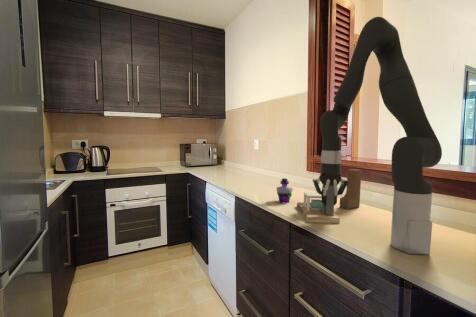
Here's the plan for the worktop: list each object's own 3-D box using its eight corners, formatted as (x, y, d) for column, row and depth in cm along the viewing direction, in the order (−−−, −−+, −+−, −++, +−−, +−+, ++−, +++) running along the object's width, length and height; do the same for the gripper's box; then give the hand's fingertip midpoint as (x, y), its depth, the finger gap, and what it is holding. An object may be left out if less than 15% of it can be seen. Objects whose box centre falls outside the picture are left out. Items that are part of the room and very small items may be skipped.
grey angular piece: (333, 215, 97) (334, 185, 97) (313, 215, 98) (314, 185, 97) (325, 208, 108) (326, 181, 107) (307, 207, 108) (308, 180, 107)
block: (322, 211, 104) (323, 201, 103) (313, 210, 104) (313, 201, 103) (320, 208, 108) (320, 199, 107) (310, 208, 108) (311, 199, 107)
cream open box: (328, 211, 103) (329, 196, 103) (307, 211, 104) (307, 195, 103) (323, 206, 110) (324, 192, 110) (303, 206, 111) (304, 192, 110)
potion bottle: (289, 204, 121) (289, 180, 120) (272, 202, 126) (273, 178, 125) (294, 200, 129) (295, 178, 128) (279, 198, 133) (279, 176, 132)
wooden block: (347, 209, 114) (349, 170, 112) (339, 207, 118) (340, 169, 116) (359, 207, 118) (361, 169, 116) (351, 204, 122) (353, 168, 120)
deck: (339, 223, 95) (339, 218, 95) (308, 222, 95) (308, 217, 95) (322, 207, 117) (322, 202, 117) (297, 206, 118) (297, 202, 118)
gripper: (315, 162, 94) (313, 206, 95) (352, 163, 93) (350, 207, 95) (310, 160, 101) (309, 201, 103) (345, 161, 101) (343, 202, 102)
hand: (328, 204), depth 99 cm, fingers closed on grey angular piece, 3 cm apart
